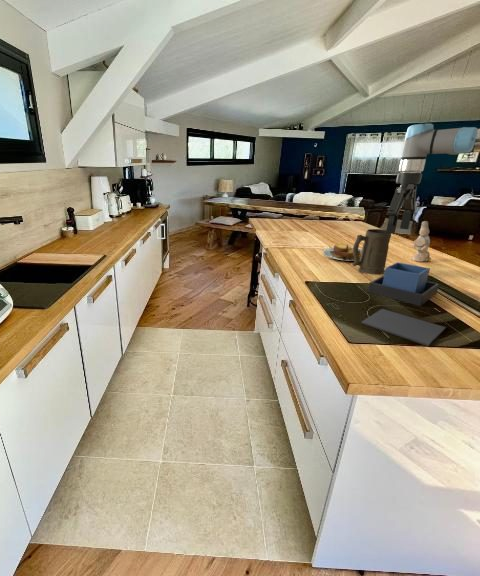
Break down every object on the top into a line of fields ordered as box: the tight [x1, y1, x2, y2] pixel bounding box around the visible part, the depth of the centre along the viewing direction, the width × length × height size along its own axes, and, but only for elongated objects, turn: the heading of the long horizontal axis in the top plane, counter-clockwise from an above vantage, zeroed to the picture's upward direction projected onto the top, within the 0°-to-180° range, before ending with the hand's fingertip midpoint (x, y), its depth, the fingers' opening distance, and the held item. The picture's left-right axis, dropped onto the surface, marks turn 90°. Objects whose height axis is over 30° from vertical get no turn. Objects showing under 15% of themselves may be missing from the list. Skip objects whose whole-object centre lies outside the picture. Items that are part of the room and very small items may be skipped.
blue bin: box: [382, 262, 431, 294], centre depth 118 cm, size 11×11×10 cm
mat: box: [360, 307, 448, 347], centre depth 97 cm, size 18×18×1 cm
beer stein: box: [352, 228, 392, 275], centre depth 143 cm, size 15×11×20 cm
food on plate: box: [322, 243, 362, 262], centre depth 171 cm, size 25×25×7 cm
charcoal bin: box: [367, 275, 440, 307], centre depth 120 cm, size 18×18×5 cm
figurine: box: [412, 220, 432, 262], centre depth 161 cm, size 9×8×20 cm
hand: (397, 231), depth 120 cm, fingers open, 13 cm apart
